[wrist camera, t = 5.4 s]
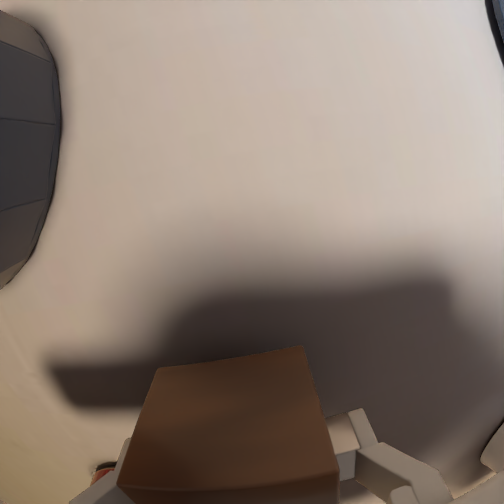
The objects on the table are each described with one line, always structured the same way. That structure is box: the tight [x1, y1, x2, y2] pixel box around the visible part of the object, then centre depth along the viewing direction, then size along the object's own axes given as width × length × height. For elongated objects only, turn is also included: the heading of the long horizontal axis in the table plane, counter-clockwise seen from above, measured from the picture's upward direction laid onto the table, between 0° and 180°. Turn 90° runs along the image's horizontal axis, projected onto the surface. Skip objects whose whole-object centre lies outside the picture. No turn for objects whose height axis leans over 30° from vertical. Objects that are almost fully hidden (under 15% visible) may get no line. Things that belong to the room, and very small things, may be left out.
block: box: [116, 345, 340, 504], centre depth 8 cm, size 5×5×5 cm
